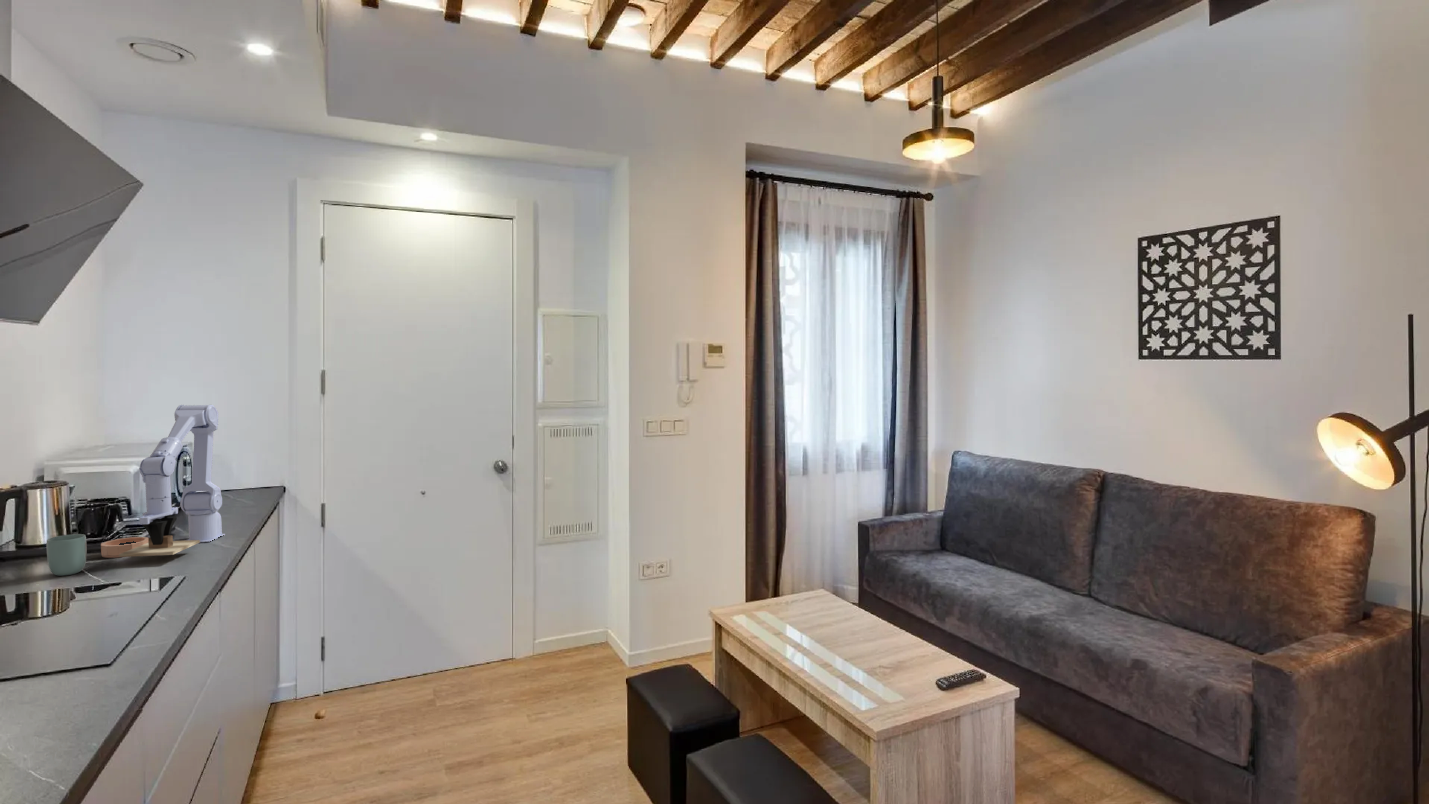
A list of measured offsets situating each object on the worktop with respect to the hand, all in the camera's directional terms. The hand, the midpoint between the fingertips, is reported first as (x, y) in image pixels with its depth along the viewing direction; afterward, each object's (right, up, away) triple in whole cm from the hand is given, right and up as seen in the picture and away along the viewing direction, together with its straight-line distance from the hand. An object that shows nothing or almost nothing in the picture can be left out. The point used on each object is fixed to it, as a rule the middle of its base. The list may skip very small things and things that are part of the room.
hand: (160, 543), depth 202 cm
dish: (-16, -4, +7) cm, 18 cm away
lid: (0, -2, 0) cm, 2 cm away
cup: (-14, -6, -14) cm, 21 cm away
